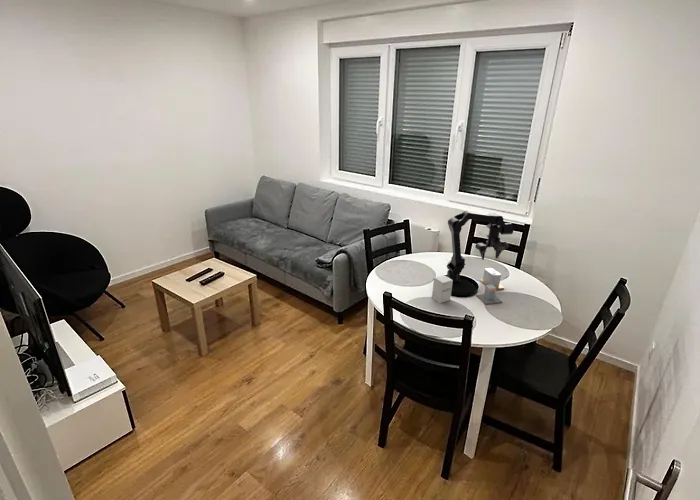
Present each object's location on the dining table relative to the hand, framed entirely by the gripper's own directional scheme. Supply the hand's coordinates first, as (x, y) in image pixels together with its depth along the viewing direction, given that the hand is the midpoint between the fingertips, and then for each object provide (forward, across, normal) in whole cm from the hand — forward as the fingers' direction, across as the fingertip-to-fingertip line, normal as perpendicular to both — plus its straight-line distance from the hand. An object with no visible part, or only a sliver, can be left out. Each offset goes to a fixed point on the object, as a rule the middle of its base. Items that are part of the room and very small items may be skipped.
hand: (489, 259), depth 229 cm
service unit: (+13, -2, -9) cm, 16 cm away
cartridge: (+12, -13, -23) cm, 29 cm away
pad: (+13, -13, -23) cm, 29 cm away
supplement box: (+13, -39, -17) cm, 44 cm away
